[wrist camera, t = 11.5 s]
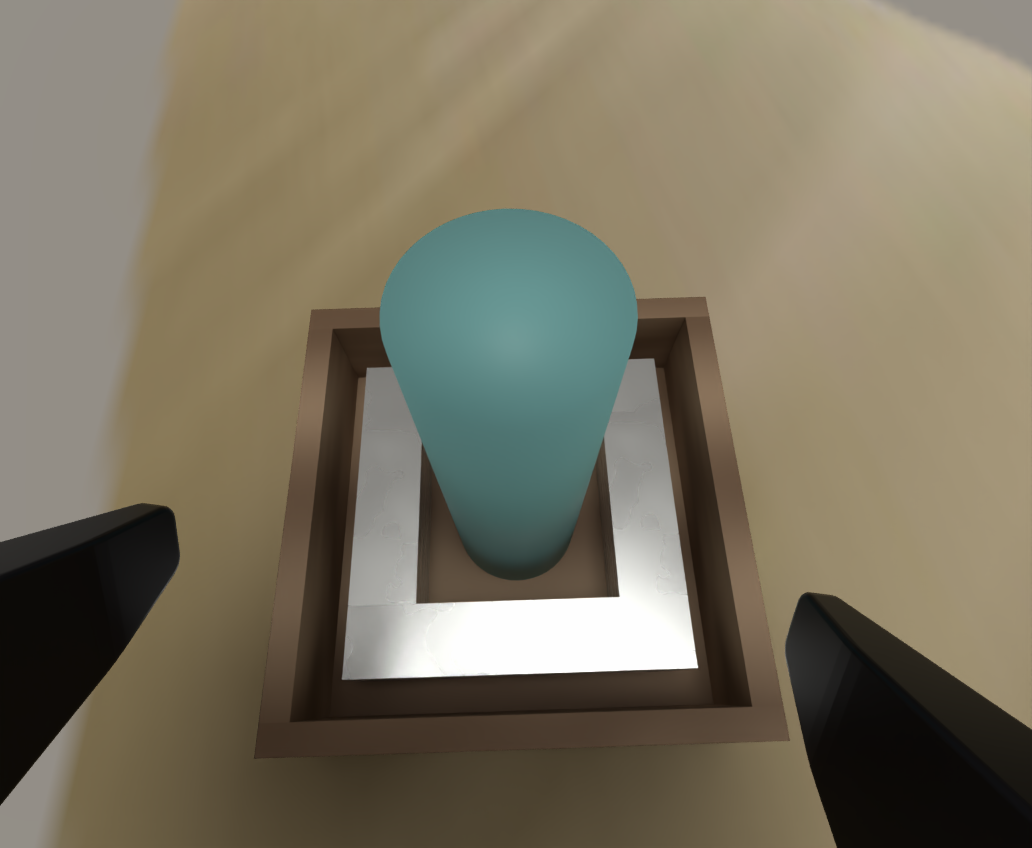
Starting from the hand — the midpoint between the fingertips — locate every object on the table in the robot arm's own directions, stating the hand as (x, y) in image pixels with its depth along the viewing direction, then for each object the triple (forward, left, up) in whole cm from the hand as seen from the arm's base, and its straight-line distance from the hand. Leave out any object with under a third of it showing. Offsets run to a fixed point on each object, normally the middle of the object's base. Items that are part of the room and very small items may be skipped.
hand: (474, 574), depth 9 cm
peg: (+4, -1, -12) cm, 13 cm away
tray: (+4, -1, -13) cm, 14 cm away
